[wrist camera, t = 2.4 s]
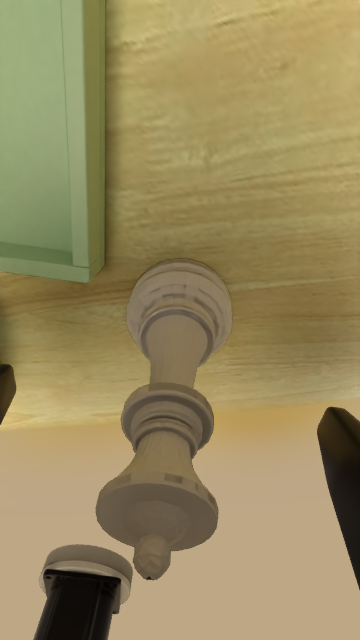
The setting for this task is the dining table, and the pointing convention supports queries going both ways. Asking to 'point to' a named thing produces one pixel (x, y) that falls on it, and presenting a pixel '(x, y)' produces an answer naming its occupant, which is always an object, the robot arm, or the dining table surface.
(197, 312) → the chess piece
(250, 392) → the dining table surface
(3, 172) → the green tray
